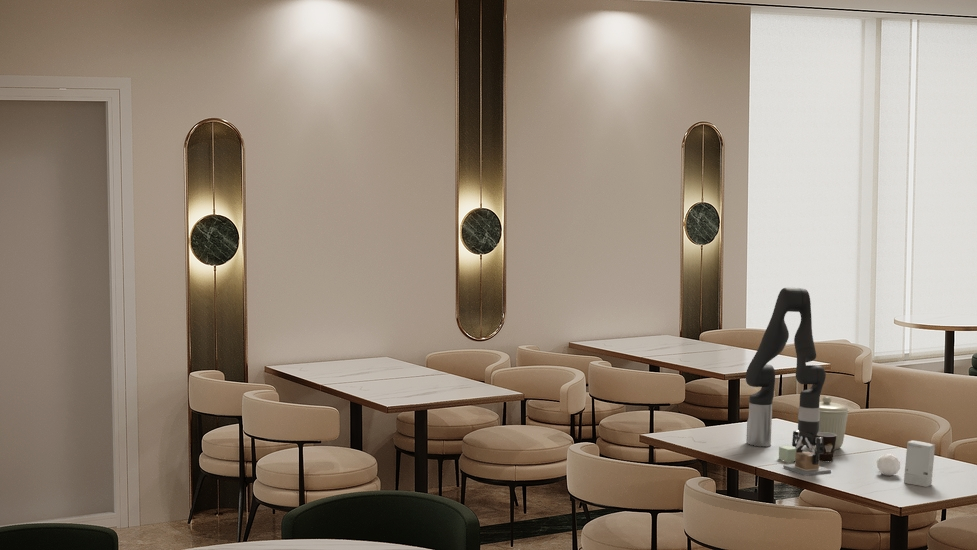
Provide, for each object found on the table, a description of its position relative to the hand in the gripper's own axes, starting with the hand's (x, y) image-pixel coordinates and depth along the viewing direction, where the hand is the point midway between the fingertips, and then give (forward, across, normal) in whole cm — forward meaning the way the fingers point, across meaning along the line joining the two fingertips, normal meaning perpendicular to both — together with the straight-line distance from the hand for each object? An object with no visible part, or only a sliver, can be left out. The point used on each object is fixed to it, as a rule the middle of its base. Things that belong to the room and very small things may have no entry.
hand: (807, 461), depth 376 cm
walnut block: (+2, 0, 0) cm, 2 cm away
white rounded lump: (+3, -14, -25) cm, 29 cm away
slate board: (+3, 0, 0) cm, 3 cm away
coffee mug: (+3, +12, -17) cm, 21 cm away
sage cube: (+3, +15, -4) cm, 16 cm away
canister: (+3, +28, -34) cm, 44 cm away
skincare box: (+3, -29, -25) cm, 38 cm away
